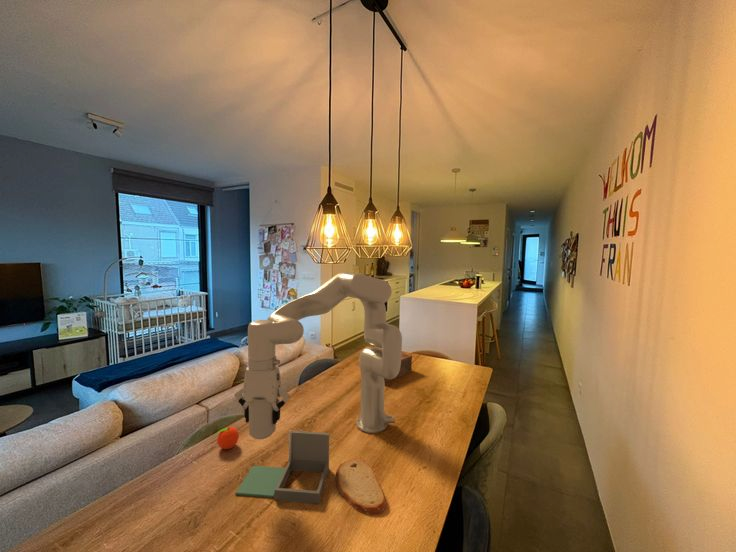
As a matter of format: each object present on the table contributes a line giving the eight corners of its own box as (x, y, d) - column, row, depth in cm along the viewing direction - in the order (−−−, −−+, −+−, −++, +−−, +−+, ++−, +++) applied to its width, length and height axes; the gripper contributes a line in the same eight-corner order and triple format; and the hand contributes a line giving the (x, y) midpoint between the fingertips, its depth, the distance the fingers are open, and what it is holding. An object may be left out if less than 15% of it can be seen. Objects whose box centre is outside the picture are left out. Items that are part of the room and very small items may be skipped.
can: (280, 429, 92) (280, 391, 91) (264, 443, 85) (264, 402, 84) (260, 424, 95) (260, 387, 94) (243, 437, 88) (242, 397, 87)
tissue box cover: (393, 365, 188) (393, 349, 187) (411, 372, 178) (411, 355, 177) (362, 376, 171) (362, 359, 170) (380, 384, 160) (380, 366, 159)
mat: (286, 469, 96) (286, 468, 96) (273, 497, 85) (273, 495, 85) (253, 467, 97) (253, 465, 97) (235, 494, 86) (235, 492, 86)
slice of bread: (383, 519, 79) (384, 506, 79) (321, 502, 84) (321, 489, 84) (396, 472, 97) (397, 461, 96) (343, 460, 102) (344, 450, 101)
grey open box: (328, 468, 97) (329, 430, 96) (319, 503, 84) (319, 459, 83) (290, 465, 98) (290, 427, 97) (274, 500, 84) (274, 455, 83)
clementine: (213, 456, 102) (212, 436, 101) (214, 444, 108) (214, 425, 107) (239, 450, 105) (238, 431, 104) (238, 439, 111) (238, 420, 111)
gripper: (295, 359, 91) (295, 415, 93) (239, 357, 93) (240, 412, 94) (286, 369, 84) (286, 430, 85) (226, 366, 85) (227, 426, 87)
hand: (262, 420), depth 90 cm, fingers closed on can, 7 cm apart
